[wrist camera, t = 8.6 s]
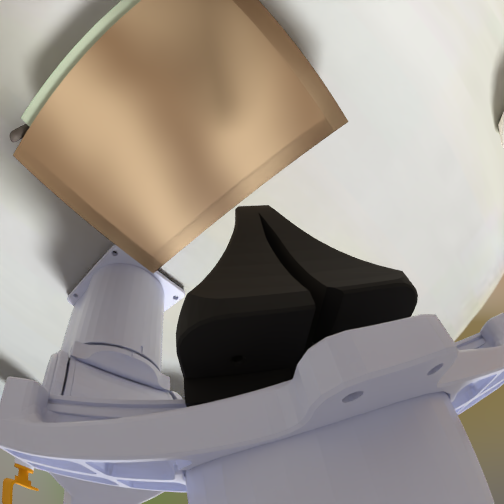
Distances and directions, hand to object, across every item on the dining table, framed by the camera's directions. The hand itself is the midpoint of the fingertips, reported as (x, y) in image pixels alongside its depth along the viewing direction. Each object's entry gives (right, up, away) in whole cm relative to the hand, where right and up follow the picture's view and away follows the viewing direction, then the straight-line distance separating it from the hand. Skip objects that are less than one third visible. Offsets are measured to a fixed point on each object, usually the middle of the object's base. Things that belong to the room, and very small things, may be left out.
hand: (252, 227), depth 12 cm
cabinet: (-5, +8, +5) cm, 11 cm away
